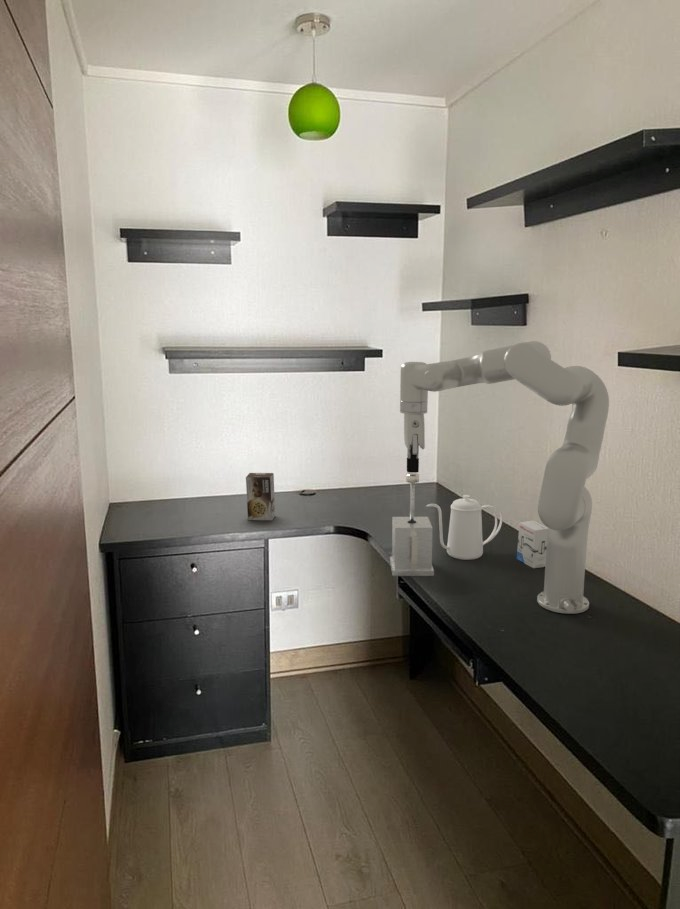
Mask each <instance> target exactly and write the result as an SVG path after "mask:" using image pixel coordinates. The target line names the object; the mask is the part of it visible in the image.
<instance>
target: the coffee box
mask: <svg viewBox="0 0 680 909" xmlns="http://www.w3.org/2000/svg"><path fill="white" fill-rule="evenodd" d="M274 477H275V476H274V472H249V473H248V474H247V476H245V487H246V488H245V490H246V507H247V521H273V520H274V519H275V517H276V507H275V506H276V504H275V478H274Z"/></svg>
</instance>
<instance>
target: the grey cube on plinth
mask: <svg viewBox="0 0 680 909" xmlns="http://www.w3.org/2000/svg"><path fill="white" fill-rule="evenodd" d="M391 521H392V525H391V529H392V531H391V534H392V535H391V537H392V538H391V539H392V540H391V556H389V564H390V569H391V574H392V575H391V576H392V577H434V576H435V569H434V566H433V562H432V561H433V531H434V530H433V528H434V527H433V526H432V523H431V521H430V518H429V516H414V523H410V516H392V520H391Z"/></svg>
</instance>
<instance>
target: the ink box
mask: <svg viewBox="0 0 680 909" xmlns="http://www.w3.org/2000/svg"><path fill="white" fill-rule="evenodd" d="M547 534H548V527H547V526H545V525H544V524H541V523H540V522H537V521H536V520H527V521H520V522H519V523H518V536H517V550H516V552H517V553H516V560H518V561H520V562H521V563H522V564H525V565H527V566H528V567H530V568H532V569H537V568H544V567H545V565H546V548H547Z"/></svg>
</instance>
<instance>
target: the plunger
mask: <svg viewBox="0 0 680 909" xmlns="http://www.w3.org/2000/svg"><path fill="white" fill-rule="evenodd" d="M405 476H406V478H405V480H406V483H409V486H410V491H409V496H410V497H409V498H410V499H409V502H410V503H409V517H410V523H414V517H415V498H416V497H415V495H416V494H415V490H416V488H415V487H416V484H417V483H419V482H420V474H419V473H418V472H417V473H408V472H407V473H406V475H405Z"/></svg>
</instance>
